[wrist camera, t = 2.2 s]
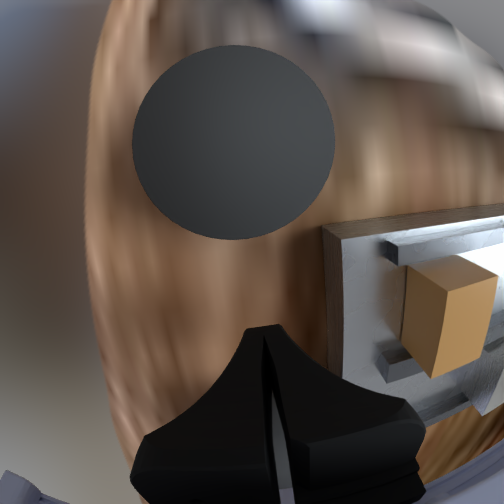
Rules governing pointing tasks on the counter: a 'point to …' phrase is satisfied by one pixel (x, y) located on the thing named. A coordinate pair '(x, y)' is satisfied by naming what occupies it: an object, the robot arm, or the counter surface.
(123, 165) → the counter surface
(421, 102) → the counter surface
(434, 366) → the toggle
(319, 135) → the pair of grey cylinders
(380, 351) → the power strip
